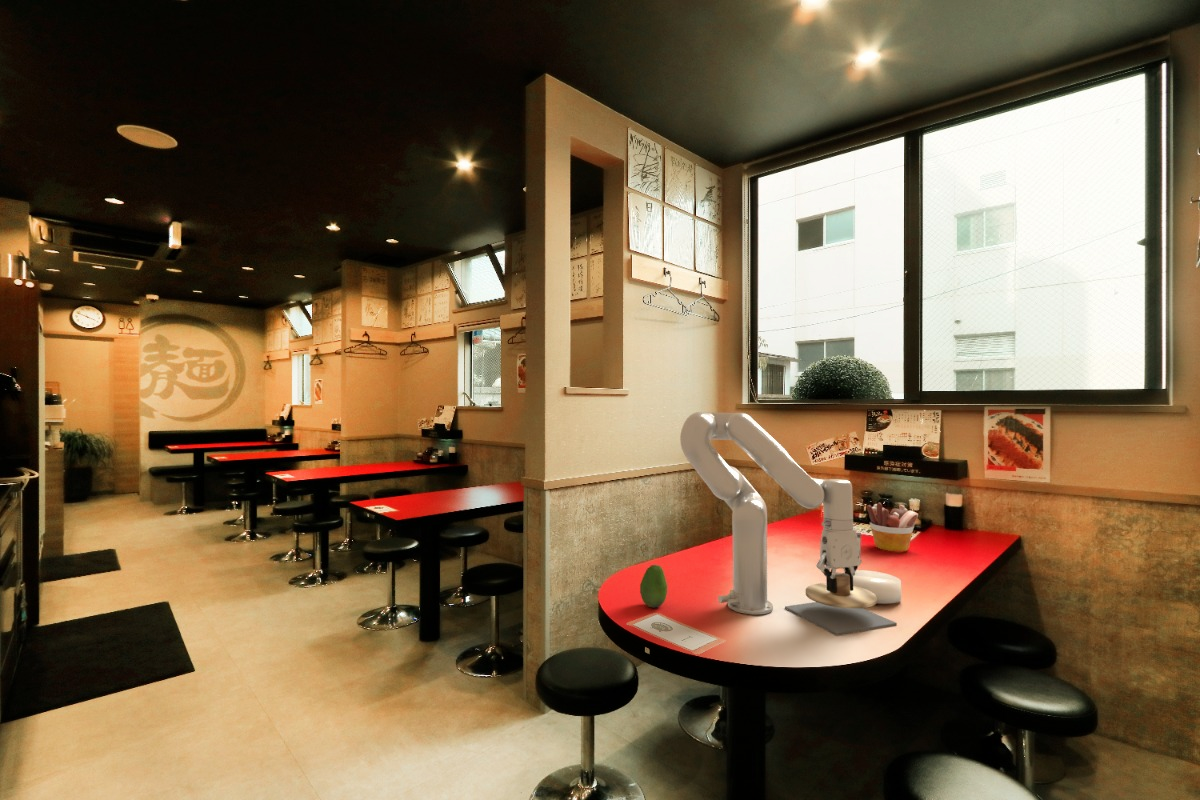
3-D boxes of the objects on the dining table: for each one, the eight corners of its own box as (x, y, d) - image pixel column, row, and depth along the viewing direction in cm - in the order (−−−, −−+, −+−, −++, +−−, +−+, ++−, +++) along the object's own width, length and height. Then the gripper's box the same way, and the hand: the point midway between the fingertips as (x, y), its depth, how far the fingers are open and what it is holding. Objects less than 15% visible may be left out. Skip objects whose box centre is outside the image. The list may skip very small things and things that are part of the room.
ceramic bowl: (872, 609, 156) (871, 588, 156) (831, 592, 171) (830, 572, 171) (914, 603, 162) (913, 582, 162) (870, 586, 177) (870, 568, 177)
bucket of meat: (886, 542, 237) (886, 496, 238) (925, 550, 223) (924, 501, 224) (857, 547, 227) (857, 500, 228) (896, 557, 213) (895, 505, 214)
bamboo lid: (838, 612, 139) (838, 588, 139) (791, 591, 156) (791, 569, 156) (892, 603, 145) (891, 580, 146) (841, 583, 162) (841, 563, 162)
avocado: (672, 606, 158) (672, 564, 159) (655, 613, 153) (655, 570, 153) (651, 599, 164) (651, 559, 164) (634, 606, 158) (634, 564, 159)
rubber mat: (836, 635, 138) (836, 632, 138) (784, 608, 157) (784, 606, 157) (896, 625, 145) (896, 622, 145) (840, 600, 164) (840, 598, 164)
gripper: (823, 529, 145) (825, 598, 145) (873, 524, 151) (874, 590, 150) (803, 524, 152) (805, 590, 152) (852, 519, 158) (853, 583, 157)
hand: (840, 589), depth 151 cm, fingers closed on bamboo lid, 5 cm apart
